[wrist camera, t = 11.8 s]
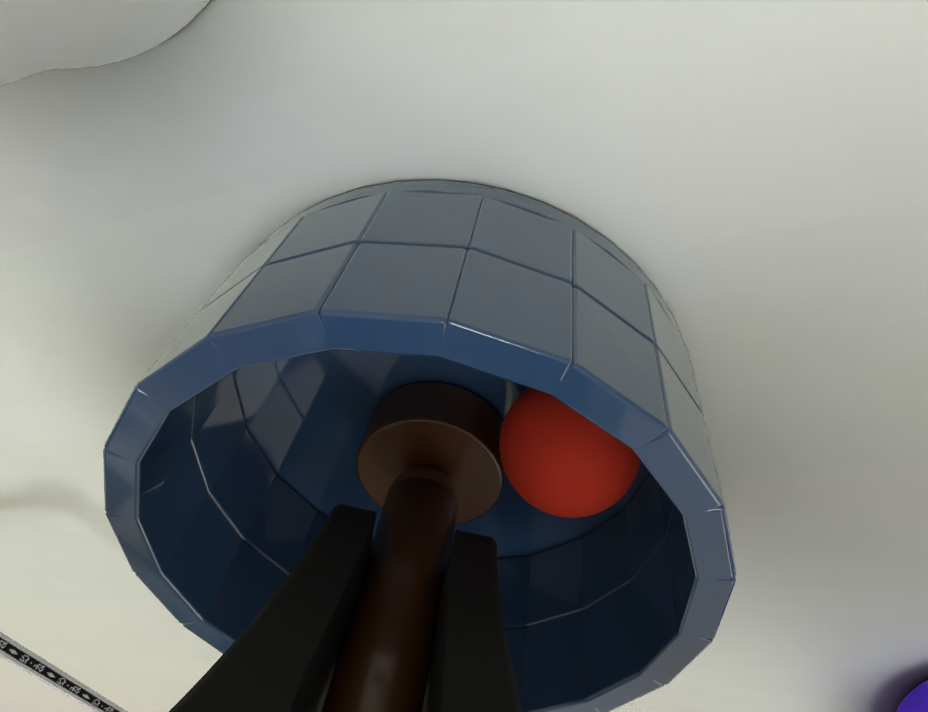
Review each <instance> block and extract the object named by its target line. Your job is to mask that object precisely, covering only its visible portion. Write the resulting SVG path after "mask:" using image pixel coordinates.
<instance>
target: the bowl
mask: <svg viewBox="0 0 928 712" xmlns="http://www.w3.org/2000/svg"><path fill="white" fill-rule="evenodd" d="M424 382H436V383H444V384H449V385H453V386H457V387H460V388H463V389H465V390H467V391H469V392H472V393H473V394H475V395H477V396H478V397H480V398H481V399H483V400H484V401H485V402H487V403H488V404H489V405H490V406H491V407H492V408H493V409H494V410H495V412H496V413H497V414H498V415H499V417H500V419H501V420H502V422H503V421H504V419H505V416H506V414H507V412H508V410H509V409H510V407H511V406H512V404H513V403H514V401H515V400H516V399H517V398H518V397H519V396H520V395H521V394H522V393H523V392H524V391H526V390H527V389H528V388H529V387H530V388H533V389H536V390H539V391H541V392H544V393H547V394H550V395H552V396H554V397H555V398H557V399H558V400H560V401H561V402H563V403H564V404H565V405H567V406H568V407H570V408H571V409H573V410H574V411H576V412H577V413H579V414H580V415H582V416H583V417H585V418H586V419H588V420H589V421H591V422H592V423H594V424H595V425H597V426H598V427H600V428H601V429H603V430H604V431H606V432H607V433H609V434H610V435H612V436H613V437H615V438H616V439H618V440H619V441H620V442H622V443H623V444H625V445H626V446H628V447H629V448H631V449H632V450H633V451H634V452H635V453H636V455H637V456H638V457H639V459H640V460H641V464H640V468H639V471H638V474H637V476H636V478H635V480H634V482H633V484H632V485H631V487H630V488H629V490H628V491H627V492H626V494H625V495H624V496H623V497H622V498H621V499H620V500H619V501H617V502H616V503H615V504H613V505H612V506H610V507H609V508H607V509H605V510H604V511H601V512H599V513H596V514H593V515H589V516H584V517H575V518H568V517H560V516H555V515H551V514H549V513H546V512H544V511H541V510H539V509H537V508H535V507H534V506H532V505H531V504H529V503H528V502H527V501H526V500H524V499H523V498H522V497H521V496H520V495H519V494H518V493H517V491H516V490H515V489H514V488H513V486H512V485H511V483H510V482H509V480H508V478H507V476H506V474H505V475H504V484H503V489H502V492H501V495H500V497H499V499H498V500H497V502H496V503H495V504H494V505H493V507H492V508H491V509H490V510H488V511H487V512H486V513H485V514H483V515H482V516H480V517H478V518H476V519H474V520H471V521H468V522H465V523H461V524H456V526H455V531H454V536H455V532H456V530H461V531H465V532H470V533H474V534H479V535H483V536H488V537H492V538H493V539H494V540H495V542H496V543H497V562H498V577H499V587H500V596H501V603H502V610H503V617H504V624H505V630H506V635H507V641H508V646H509V651H510V656H511V661H512V666H513V671H514V676H515V681H516V685H517V690H518V694H519V698H520V702H521V707H522V711H523V712H610V711H612V710H614V709H616V708H618V707H620V706H622V705H624V704H626V703H629V702H631V701H633V700H635V699H637V698H639V697H641V696H643V695H646V694H648V693H650V692H652V691H654V690H656V689H658V688H660V687H663V686H664V685H665V684H668V683H670V682H671V681H672V680H673V679H674V678H675V677H676V676H677V675H678V674H679V673H680V672H681V671H682V670H683V669H684V668H685V667H686V666H687V665H688V664H689V663H690V662H691V661H692V660H694V659H695V658H696V657H697V656H698V655H699V654H700V653H701V652H702V651H703V650H704V649H705V648H706V647H707V646H708V645H709V644H710V643H711V642H712V641H713V639H714V637H715V635H716V632H717V629H718V627H719V624H720V621H721V619H722V616H723V613H724V611H725V608H726V605H727V603H728V600H729V597H730V595H731V592H732V589H733V587H734V584H735V581H736V578H735V575H736V569H735V563H734V557H733V551H732V545H731V539H730V532H729V526H728V520H727V514H726V508H725V503H724V499H723V495H722V491H721V487H720V482H719V478H718V474H717V470H716V466H715V461H714V457H713V453H712V449H711V445H710V441H709V436H708V432H707V428H706V424H705V421H704V415H703V411H702V407H701V403H700V399H699V394H698V390H697V386H696V382H695V378H694V374H693V369H692V365H691V361H690V357H689V353H688V351H687V348H686V345H685V343H684V341H683V339H682V336H681V334H680V331H679V329H678V327H677V324H676V322H675V319H674V317H673V315H672V313H671V311H670V310H669V308H668V307H667V305H666V303H665V302H664V300H663V298H662V297H661V295H660V294H659V292H658V290H657V289H656V288H655V286H654V285H653V284H652V283H651V282H650V280H649V279H648V278H647V277H646V276H645V275H644V273H643V272H642V271H641V270H640V269H639V267H638V266H637V265H636V264H635V263H634V262H633V261H632V260H631V259H630V258H628V257H627V256H626V255H625V254H624V253H623V252H622V251H620V250H619V249H618V248H617V247H616V246H615V245H614V244H613V243H611V242H610V241H609V240H608V239H606V238H605V237H603V236H602V235H600V234H599V233H597V232H596V231H594V230H593V229H591V228H590V227H588V226H587V225H585V224H584V223H582V222H581V221H579V220H577V219H575V218H573V217H571V216H569V215H567V214H565V213H563V212H561V211H559V210H557V209H555V208H553V207H551V206H549V205H547V204H545V203H542V202H539V201H536V200H534V199H531V198H528V197H525V196H522V195H519V194H516V193H513V192H510V191H507V190H502V189H497V188H492V187H487V186H483V185H478V184H473V183H464V182H452V181H439V180H422V181H402V182H392V183H386V184H381V185H375V186H370V187H365V188H360V189H357V190H354V191H351V192H348V193H345V194H342V195H339V196H336V197H333V198H330V199H327V200H325V201H323V202H321V203H319V204H317V205H315V206H313V207H311V208H309V209H307V210H305V211H303V212H301V213H299V214H298V215H297V216H295V217H294V218H292V219H291V220H290V221H288V222H287V223H286V224H284V225H283V226H281V227H280V228H279V229H277V230H276V231H275V232H274V233H273V234H272V235H271V236H270V237H269V238H268V239H267V240H266V241H265V242H264V243H263V244H262V245H261V246H260V247H259V248H258V249H257V250H255V251H254V252H253V253H251V254H250V255H248V256H247V257H246V258H245V259H244V260H243V261H242V262H241V263H240V264H239V266H238V267H237V268H236V269H235V270H234V271H233V273H232V274H231V275H230V276H229V277H228V278H227V280H226V281H225V282H224V283H223V284H222V285H221V286H220V288H219V289H218V290H217V291H216V292H215V293H214V295H213V296H212V297H211V298H210V299H209V300H208V302H207V303H206V304H205V305H204V306H203V307H202V309H201V310H200V311H199V312H198V313H197V314H196V316H195V317H194V318H193V319H192V320H191V321H190V323H189V324H188V325H187V326H186V327H185V328H184V330H183V331H182V332H181V333H180V334H179V335H178V337H177V338H176V339H175V340H174V341H173V342H172V343H171V345H170V346H169V347H168V348H167V349H166V350H165V352H164V353H163V354H162V355H161V356H160V357H159V359H158V360H157V361H156V362H155V363H154V364H153V366H152V367H151V368H150V369H149V370H148V371H147V373H146V374H145V375H144V376H143V377H142V378H141V379H140V381H139V382H138V383H137V384H136V385H135V387H134V389H133V391H132V393H131V395H130V396H129V398H128V400H127V402H126V404H125V406H124V408H123V410H122V412H121V414H120V415H119V417H118V419H117V421H116V423H115V425H114V427H113V429H112V431H111V433H110V434H109V436H108V438H107V440H106V442H105V448H104V450H103V459H104V491H105V511H106V516H107V518H108V521H109V523H110V525H111V527H112V529H113V531H114V533H115V535H116V537H117V539H118V541H119V544H120V546H121V548H122V550H123V552H124V554H125V556H126V558H127V560H128V562H129V564H130V567H131V569H132V571H134V572H135V573H136V576H137V577H138V578H139V579H140V580H141V581H142V582H143V583H144V584H145V585H146V587H147V588H148V589H149V590H150V591H151V592H152V593H153V594H154V595H155V596H156V597H157V599H158V600H159V601H160V602H161V603H162V604H163V605H164V606H165V607H166V608H167V609H168V611H169V612H170V613H171V614H172V615H173V616H174V617H175V618H176V619H177V620H178V622H179V623H182V624H183V626H184V627H185V628H187V629H188V630H190V631H191V632H193V633H194V634H195V635H197V636H198V637H200V638H201V639H203V640H204V641H205V642H207V643H208V644H210V645H211V646H212V647H214V648H215V649H217V650H218V651H220V652H221V653H222V654H224V653H225V651H226V650H227V649H228V648H229V647H230V646H231V645H232V643H233V642H234V641H235V640H236V639H237V638H238V637H239V635H240V634H241V633H242V632H243V631H244V630H245V629H246V627H247V626H248V625H249V624H250V623H251V622H252V620H253V619H254V618H255V617H256V616H257V614H258V613H259V612H260V611H261V609H262V608H263V607H264V606H265V604H266V603H267V602H268V601H269V599H270V598H271V597H272V596H273V594H274V593H275V592H276V590H277V589H278V588H279V587H280V585H281V584H282V583H283V582H284V580H285V579H286V578H287V576H288V575H289V574H290V572H291V571H292V570H293V568H294V567H295V566H296V564H297V563H298V561H299V560H300V559H301V557H302V556H303V555H304V553H305V552H306V550H307V549H308V547H309V546H310V544H311V543H312V541H313V540H314V538H315V537H316V535H317V534H318V532H319V531H320V529H321V528H322V526H323V524H324V523H325V521H326V519H327V518H328V516H329V514H330V512H331V510H332V509H333V507H334V506H337V505H339V504H344V505H348V506H353V507H357V508H362V509H366V510H371V511H375V512H376V518H375V525H374V532H373V539H374V535H375V532H376V529H377V525H378V522H379V519H380V516H381V512H382V509H383V507H382V506H381V505H379V504H378V503H377V502H376V501H375V500H374V499H373V498H372V497H371V496H370V495H369V494H368V493H367V491H366V490H365V488H364V487H363V485H362V483H361V481H360V479H359V476H358V472H357V464H356V460H357V453H358V450H359V447H360V444H361V442H362V439H363V436H364V434H365V431H366V428H367V426H368V423H369V420H370V418H371V415H372V413H373V411H374V409H375V407H376V406H377V404H378V403H379V402H380V401H381V400H382V399H383V398H384V397H385V396H387V395H388V394H390V393H391V392H393V391H394V390H397V389H399V388H401V387H404V386H407V385H411V384H415V383H424ZM373 539H372V542H373ZM453 540H454V537H453ZM452 543H453V542H452Z"/></svg>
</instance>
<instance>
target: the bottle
mask: <svg viewBox="0 0 928 712" xmlns="http://www.w3.org/2000/svg"><path fill="white" fill-rule="evenodd" d="M896 712H928V680H927V681H925V682H923V683H922V684H920V685H918V686H917V687H916V688H914V689H913V690H912V691H911V692H910V693H909V694H908V695H907V696H906V697H905V698H904V699H903V701H902V702H901V703H900V704H899V706H898V708H897V711H896Z"/></svg>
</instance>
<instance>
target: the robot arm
mask: <svg viewBox="0 0 928 712" xmlns="http://www.w3.org/2000/svg"><path fill="white" fill-rule="evenodd" d="M375 518H376V512H375V511H371V510H366V509H362V508H357V507H353V506H348V505H344V504H339V505H337V506H334V507H333V509H332V510H331V512H330V514H329V516H328V518H327V519H326V521H325V523H324V524H323V526H322V528H321V529H320V531H319V532H318V534H317V535H316V537H315V538H314V540H313V541H312V543H311V544H310V546H309V547H308V549H307V550H306V552H305V553H304V555H303V556H302V557H301V559H300V560H299V561H298V563H297V564H296V566H295V567H294V568H293V570H292V571H291V572H290V574H289V575H288V576H287V578H286V579H285V580H284V582H283V583H282V584H281V585H280V587H279V588H278V589H277V590H276V592H275V593H274V594H273V596H272V597H271V598H270V599H269V601H268V602H267V603H266V604H265V606H264V607H263V608H262V609H261V611H260V612H259V613H258V614H257V616H256V617H255V618H254V619H253V620H252V622H251V623H250V624H249V625H248V626H247V627H246V629H245V630H244V631H243V632H242V633H241V634H240V635H239V637H238V638H237V639H236V640H235V641H234V642H233V643H232V645H231V646H230V647H229V648H228V649H227V650H226V651H225V653H224V654H223V655H222V656H221V657H220V658H219V659H218V661H217V662H216V663H215V664H214V665H213V666H212V667H211V668H210V669H209V671H208V672H207V673H206V674H205V675H204V676H203V677H202V678H201V679H200V680H199V681H198V682H197V683H196V684H195V685H194V687H193V688H192V689H191V690H190V691H189V692H188V693H187V694H186V695H185V696H184V697H183V698H182V699H181V700H180V701H179V702H178V703H177V704H176V705H175V706H174V707H173V708H172V709H171V710H170V711H169V712H321V711H322V708H323V705H324V701H325V698H326V695H327V691H328V688H329V685H330V681H331V678H332V675H333V671H334V668H335V665H336V662H337V658H338V655H339V652H340V648H341V645H342V642H343V638H344V635H345V632H346V629H347V626H348V623H349V620H350V618H351V615H352V612H353V609H354V607H355V603H356V600H357V597H358V593H359V590H360V587H361V583H362V580H363V577H364V573H365V570H366V567H367V563H368V560H369V557H370V553H371V546H372V539H373V532H374V525H375ZM422 712H523V711H522V707H521V702H520V698H519V694H518V690H517V685H516V681H515V676H514V671H513V666H512V661H511V656H510V651H509V646H508V641H507V635H506V630H505V624H504V617H503V610H502V603H501V596H500V587H499V577H498V562H497V543H496V542H495V540H494V539H493V538H492V537H488V536H483V535H479V534H474V533H470V532H465V531H461V530H456V532H455V536H454V540H453V543H452V547H451V551H450V555H449V559H448V563H447V567H446V571H445V576H444V581H443V587H442V592H441V598H440V603H439V608H438V614H437V619H436V625H435V634H434V643H433V651H432V658H431V664H430V670H429V675H428V681H427V686H426V692H425V697H424V703H423V708H422Z"/></svg>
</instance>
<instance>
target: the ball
mask: <svg viewBox="0 0 928 712" xmlns="http://www.w3.org/2000/svg"><path fill="white" fill-rule="evenodd" d="M499 447H500V457H501V462H502V465H503V468H504V471H505V474H506V476H507V478H508V480H509V482H510V483H511V485H512V486H513V488H514V489H515V490H516V491H517V493H518V494H519V495H520V496H521V497H522V498H523V499H524V500H526V501H527V502H528V503H529V504H531V505H532V506H534V507H535V508H537V509H539V510H541V511H544V512H546V513H549V514H551V515H555V516H560V517H568V518H575V517H584V516H589V515H593V514H596V513H599V512H601V511H604V510H605V509H607V508H609V507H610V506H612V505H613V504H615V503H616V502H617V501H619V500H620V499H621V498H622V497H623V496H624V495H625V494H626V492H627V491H628V490H629V488H630V487H631V485H632V484H633V482H634V480H635V478H636V476H637V474H638V471H639V468H640V464H641V460H640V459H639V457H638V456H637V455H636V453H635V452H634V451H633V450H632V449H631V448H629V447H628V446H626V445H625V444H623V443H622V442H620V441H619V440H618V439H616V438H615V437H613V436H612V435H610V434H609V433H607V432H606V431H604V430H603V429H601V428H600V427H598V426H597V425H595V424H594V423H592V422H591V421H589V420H588V419H586V418H585V417H583V416H582V415H580V414H579V413H577V412H576V411H574V410H573V409H571V408H570V407H568V406H567V405H565V404H564V403H563V402H561V401H560V400H558V399H557V398H555V397H554V396H552V395H550V394H547V393H544V392H541V391H539V390H536V389H533V388H530V387H529V388H528V389H527V390H526V391H524V392H523V393H522V394H521V395H520V396H519V397H518V398H517V399H516V400H515V401H514V403H513V404H512V406H511V407H510V409H509V410H508V412H507V414H506V416H505V419H504V421H503V425H502V428H501V433H500V442H499Z"/></svg>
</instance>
